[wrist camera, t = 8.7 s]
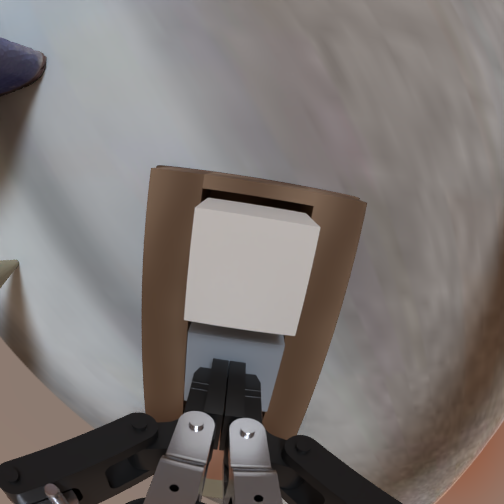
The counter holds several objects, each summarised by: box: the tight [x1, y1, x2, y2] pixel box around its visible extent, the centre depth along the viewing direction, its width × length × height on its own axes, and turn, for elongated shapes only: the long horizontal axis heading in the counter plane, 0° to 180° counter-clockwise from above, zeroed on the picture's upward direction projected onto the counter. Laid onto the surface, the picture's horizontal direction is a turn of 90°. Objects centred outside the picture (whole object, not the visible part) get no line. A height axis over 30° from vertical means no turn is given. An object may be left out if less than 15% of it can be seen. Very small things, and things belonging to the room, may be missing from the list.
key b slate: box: [184, 322, 285, 412], centre depth 15 cm, size 4×4×3 cm
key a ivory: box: [184, 198, 320, 336], centre depth 12 cm, size 4×4×3 cm
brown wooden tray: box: [142, 165, 367, 440], centre depth 18 cm, size 11×23×4 cm, turn 171°
